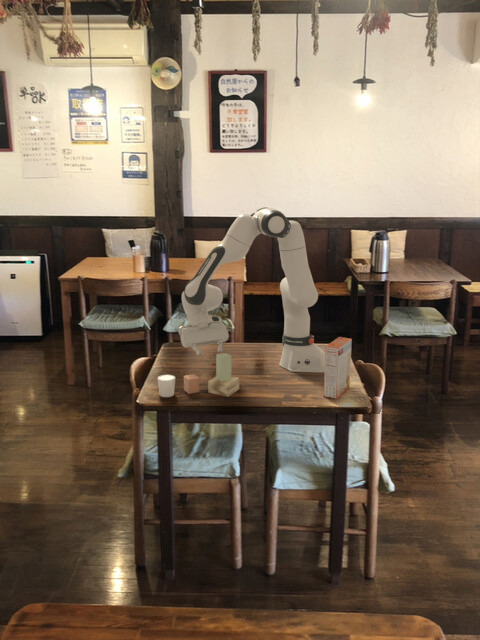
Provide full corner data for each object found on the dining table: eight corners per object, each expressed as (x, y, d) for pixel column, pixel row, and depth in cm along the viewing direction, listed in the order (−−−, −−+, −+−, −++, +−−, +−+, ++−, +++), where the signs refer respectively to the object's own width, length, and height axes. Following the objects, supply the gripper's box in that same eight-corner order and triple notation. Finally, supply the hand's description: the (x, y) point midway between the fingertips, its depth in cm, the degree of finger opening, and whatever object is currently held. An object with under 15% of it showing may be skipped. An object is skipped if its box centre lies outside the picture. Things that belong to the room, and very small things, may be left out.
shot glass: (172, 398, 235) (172, 381, 233) (155, 396, 236) (154, 379, 234) (177, 391, 242) (177, 375, 240) (161, 390, 243) (160, 373, 241)
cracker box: (335, 385, 250) (338, 336, 245) (349, 388, 247) (353, 338, 242) (322, 396, 239) (324, 345, 233) (336, 400, 236) (339, 347, 230)
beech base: (239, 389, 245) (239, 377, 244) (228, 397, 238) (228, 385, 236) (219, 385, 249) (219, 374, 248) (208, 393, 241) (208, 381, 240)
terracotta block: (194, 388, 246) (194, 374, 244) (199, 392, 242) (198, 377, 240) (183, 390, 243) (183, 375, 242) (188, 394, 240) (188, 379, 238)
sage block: (226, 376, 245) (226, 352, 242) (231, 380, 241) (231, 355, 238) (216, 378, 243) (216, 354, 241) (220, 382, 239) (220, 357, 237)
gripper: (178, 322, 249) (188, 352, 243) (224, 317, 258) (234, 345, 253) (174, 330, 254) (184, 360, 248) (219, 324, 263) (229, 352, 258)
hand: (210, 352), depth 251 cm, fingers open, 8 cm apart
